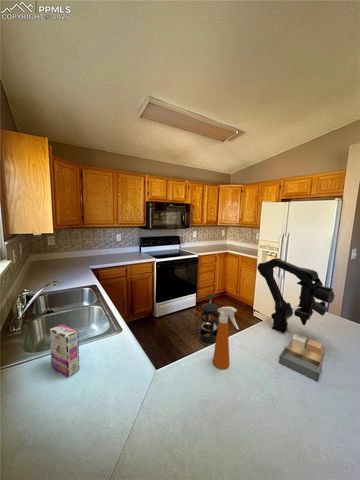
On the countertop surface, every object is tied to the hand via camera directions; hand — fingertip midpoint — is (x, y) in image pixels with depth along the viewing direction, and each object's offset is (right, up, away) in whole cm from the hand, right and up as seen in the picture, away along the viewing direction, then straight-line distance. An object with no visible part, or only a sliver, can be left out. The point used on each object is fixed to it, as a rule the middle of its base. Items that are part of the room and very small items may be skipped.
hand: (303, 324), depth 100 cm
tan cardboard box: (-1, -7, -9) cm, 12 cm away
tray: (-12, -10, -16) cm, 23 cm away
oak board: (-4, -10, -8) cm, 13 cm away
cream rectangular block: (-6, -7, -5) cm, 10 cm away
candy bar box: (-108, -9, -21) cm, 111 cm away
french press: (-48, -8, +1) cm, 49 cm away
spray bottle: (-44, -10, -17) cm, 48 cm away
